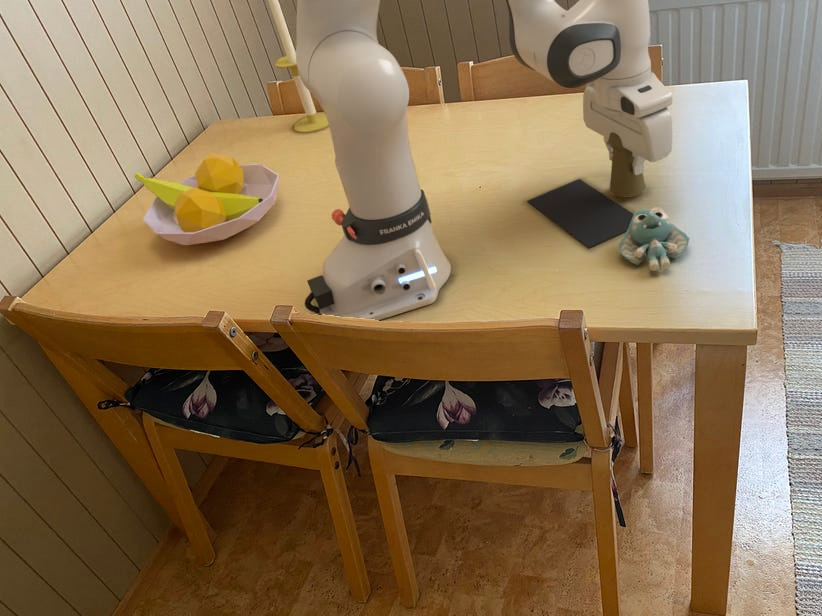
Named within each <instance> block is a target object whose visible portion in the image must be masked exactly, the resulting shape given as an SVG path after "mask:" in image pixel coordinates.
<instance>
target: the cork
mask: <svg viewBox="0 0 822 616" xmlns="http://www.w3.org/2000/svg"><path fill="white" fill-rule="evenodd" d="M609 142H610V146H611V147H612V148H613V156H612V161H611V168H610V181H609V192H610V193H611V195H613V196H615V197H617V198H631V197H635V196H639V195H640V194H642V193H643V192H645V190H646V184H645V183H646V182H645V178H644V172H643V173H641V174H639V175H635V174H633V173H632V172H630V163H632V162H633V161H634V158H635V157H633V156H632V152H631V151H630V150H628V149H626V148H624V147H623V145H622V141H621V139H620V137H619V136H618V135H617V134H616V133H613V132H611V133H610V136H609Z"/></svg>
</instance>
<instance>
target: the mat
mask: <svg viewBox="0 0 822 616" xmlns="http://www.w3.org/2000/svg"><path fill="white" fill-rule="evenodd" d="M527 203H528V204H529V205H531V206H532V207H533V208H534V209H536V210H537V211H538V212H540V213H541V214H542V215H543V216H544V217H546V218H547V219H549V220H550V221H551V222H553V223H554V224H555V225H557V227H560V228H561V229H562V230H563V231H565V232H566V233H567V234H569V235H570V236H572V237H573V238H574V239H575V240H577V241H578V242H579V243H581V245H583V246H584V247H586V248H587V249H589V250H590V249H592V248H594V247H596V246H598V245H601V244H603V243H605V242H608V241H609V240H612V239H614V238H616V237H619V236H621V235H623V234H625V233H626V231H627V230H628V228H629V225H630V222H631V220H632V217H633V215H634V213H633V212H631V211H630V210H629V209H627V208H625V207H624V206H622V205H621V204H619V203H618V202H616V201H615V200H613V199H612V198H610V197H609V196H607V195H605V194H604V193H603V192H600V190H597V189H596V188H594V187H593V186H592V185H590V184H588V183H587V182H585V181H583V179H580V178H578V179H575V180H573V181H571V182H569V183H566V184H564V185H561V186H559V187H557V188H553V189H552V190H549V191H547V192H545V193H542V194H539V195H537V196H535V197H533V198H530V199H528V200H527Z"/></svg>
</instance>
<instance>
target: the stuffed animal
mask: <svg viewBox="0 0 822 616" xmlns="http://www.w3.org/2000/svg"><path fill="white" fill-rule="evenodd" d="M633 214H634V215H633V217H632V220H631V222H630V225H629V228H628V230H627V231H626V232H625V233H624V235H623V237H622V239H621V240H620V242H619V243H618V245H617V246H618V247H617V251H619V253H620V254H621V256H623V257H624V259H625V260H626V261H628V262H629V263H632V264H633V265H637V266H638V265H640V264H641V263H642V262H643V261H645V259H646V258H647V259H648V267H649V269H650V271H651V272H655V271H658V270H659V269H660V268H661V269H662V270H668V269H669V268H670V267H671V262H670V261H671V260H670V258H672V259H674V260H677V259H679V258H680V257H681V255H682V254H683V253H684V252H685V251H686V249H687V247H689V246H688V245H689V241H690V238H689V237H688V235H687V234H686V233H685V232H683V231H682V230H680V229H679V227H676V226H675V225H674V224H673V223H672V222H671V220H670V216H669V215H668V214H667V213H666V211H664V209H662V208H660V207H657V206H656V207H652V208H647V209H639V210H637V211H635V212H634V213H633Z"/></svg>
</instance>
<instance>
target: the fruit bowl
mask: <svg viewBox="0 0 822 616" xmlns="http://www.w3.org/2000/svg"><path fill="white" fill-rule="evenodd" d="M194 174H195V175H192V176H189V177H187V178H185V179H183V180H182V181H180V182H173V181H169V180H163V179H157V178H151V177H145V176H143V175H142V174H140V173H139V172H136V173H135V174H134V176H133V177H134V178H135V179H137V180H138V181H140V182H141V183H142V184H143V186H144V187H145V188H146V189H147V190H148V191H150V192H151V193H152V194H154V195H155V198H154V199H153V201H152V203H151V205H150V207H149V208H148V209H147V211H146V213H145V214H144V216H143V218H142V221H143V222H144V223H145V224H146V225H147V226H148V227H149V228H150V229H151V230H152V231H153V232H154V233H155V234H156V235H158V236H159V237H161V238H162V239H163V240H164V241H169V242H172V243H175V244H179V245H181V246H190V245H199V244H206V243H211V242H218V241H224V240H225V239H228V238H230V237H233V236H235V235H237V234H239V233H242V232H243V231H245V230H248V229H249V228H250V227H252V226H254V225H255V224H257V223H258V222H259V221H261V219H262V218H263V217H264V216H265V215H266V214H267V213H268V212H269V211H270V210H271V209H272V207H273V206H274V205H275V204H276V202H277V194H278V187H279V180H280V174H279V173H276V172H275V171H273V170H272V169H270V168H268V167H267V166H265V164H263V163H255V164H253V163H252V164H251V163H250V164H238V162H237V161H236V160H235V159H234V158H233V156H230V155H225V154H219V153H209V155H207V156H206V157H205V158H204V159H203V161H202V162H201V164H200V165H199V166H198V168H197V170H196V171H195V172H194Z"/></svg>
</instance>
